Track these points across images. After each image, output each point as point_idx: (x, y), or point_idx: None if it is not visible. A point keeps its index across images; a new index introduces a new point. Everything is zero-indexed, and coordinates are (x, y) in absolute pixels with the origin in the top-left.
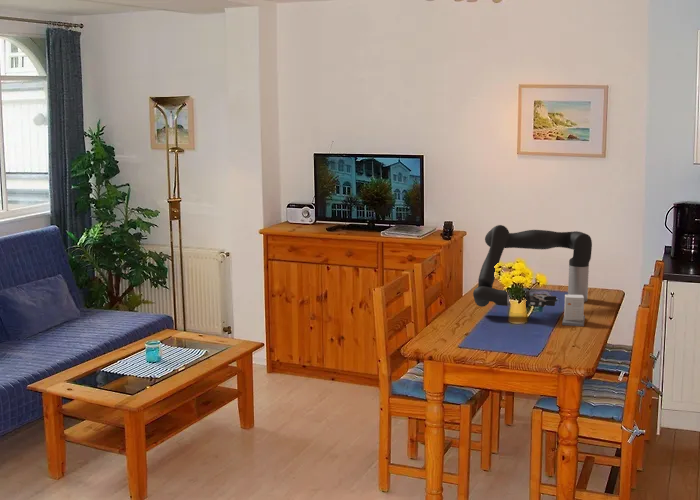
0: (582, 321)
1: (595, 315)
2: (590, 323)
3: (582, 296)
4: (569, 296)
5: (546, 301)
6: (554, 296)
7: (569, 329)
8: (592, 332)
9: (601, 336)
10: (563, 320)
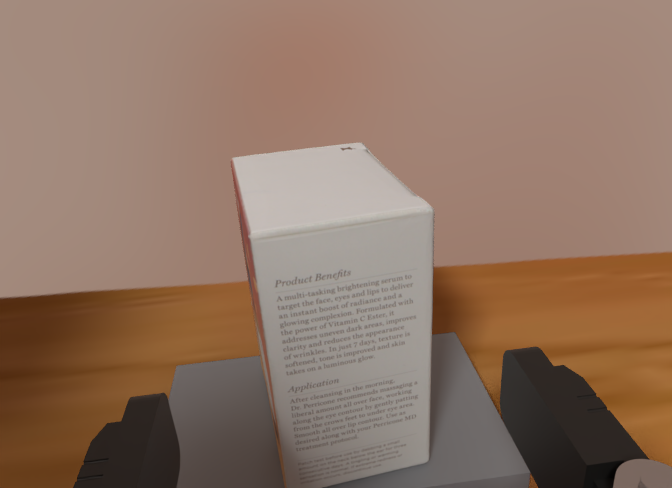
0: None
1: (83, 347)
2: None
3: (311, 150)
4: (366, 193)
5: (619, 471)
6: (144, 411)
7: (633, 412)
8: (573, 295)
9: (620, 258)
10: (441, 477)
